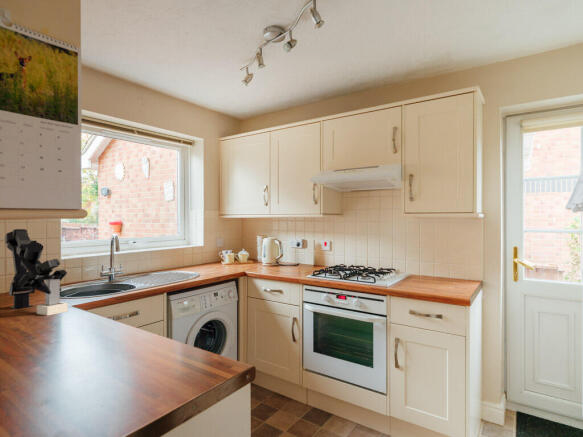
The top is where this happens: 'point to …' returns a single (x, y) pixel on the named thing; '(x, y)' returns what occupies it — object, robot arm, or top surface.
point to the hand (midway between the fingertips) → (55, 292)
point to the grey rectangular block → (53, 292)
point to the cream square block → (52, 309)
